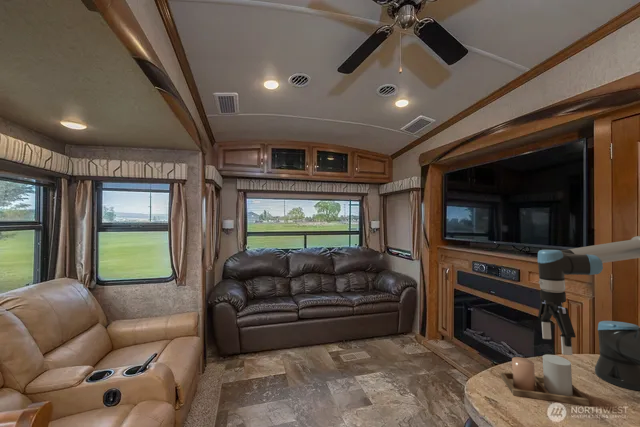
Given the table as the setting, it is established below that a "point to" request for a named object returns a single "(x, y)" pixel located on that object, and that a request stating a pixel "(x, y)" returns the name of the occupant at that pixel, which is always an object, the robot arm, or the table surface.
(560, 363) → the grey cylinder
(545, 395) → the caddy
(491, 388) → the table surface
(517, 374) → the tan rounded cylinder
